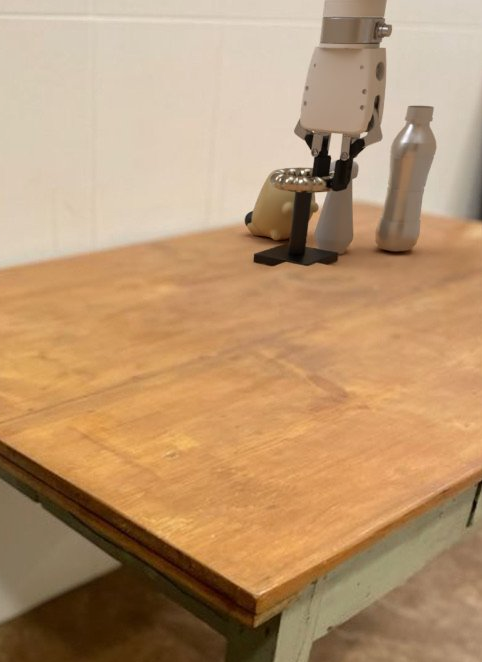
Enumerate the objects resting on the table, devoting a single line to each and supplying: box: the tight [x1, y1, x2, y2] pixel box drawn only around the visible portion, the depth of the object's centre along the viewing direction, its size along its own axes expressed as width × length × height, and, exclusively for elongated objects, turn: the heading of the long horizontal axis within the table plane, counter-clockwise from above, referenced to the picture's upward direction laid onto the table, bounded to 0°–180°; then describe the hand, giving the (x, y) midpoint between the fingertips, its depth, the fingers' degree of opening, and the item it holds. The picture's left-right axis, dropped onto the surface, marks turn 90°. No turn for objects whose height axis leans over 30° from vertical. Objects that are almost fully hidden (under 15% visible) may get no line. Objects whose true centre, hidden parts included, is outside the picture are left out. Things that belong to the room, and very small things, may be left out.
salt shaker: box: [313, 159, 359, 255], centre depth 122 cm, size 6×6×13 cm
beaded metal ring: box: [270, 167, 334, 194], centre depth 115 cm, size 10×10×2 cm
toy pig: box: [244, 168, 320, 241], centre depth 131 cm, size 10×12×11 cm
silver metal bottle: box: [375, 105, 438, 253], centre depth 121 cm, size 6×7×20 cm
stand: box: [252, 192, 340, 267], centre depth 118 cm, size 9×9×11 cm
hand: (329, 187), depth 113 cm, fingers closed on beaded metal ring, 2 cm apart
